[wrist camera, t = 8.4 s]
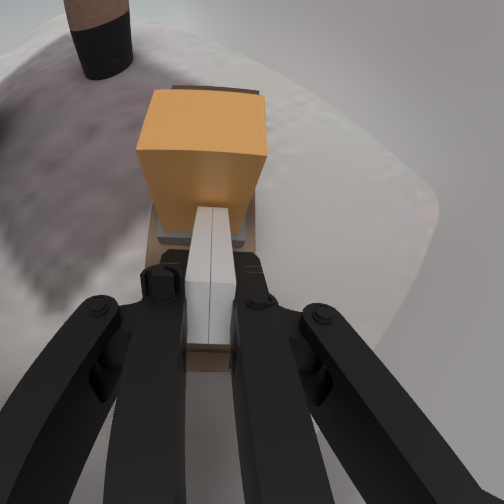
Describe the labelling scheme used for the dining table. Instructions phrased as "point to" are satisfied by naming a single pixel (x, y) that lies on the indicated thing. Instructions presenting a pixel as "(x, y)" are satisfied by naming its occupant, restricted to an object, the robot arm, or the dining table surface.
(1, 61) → the dining table surface
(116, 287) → the dining table surface
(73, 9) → the travel mug
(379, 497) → the robot arm
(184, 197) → the fader knob
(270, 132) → the dining table surface
